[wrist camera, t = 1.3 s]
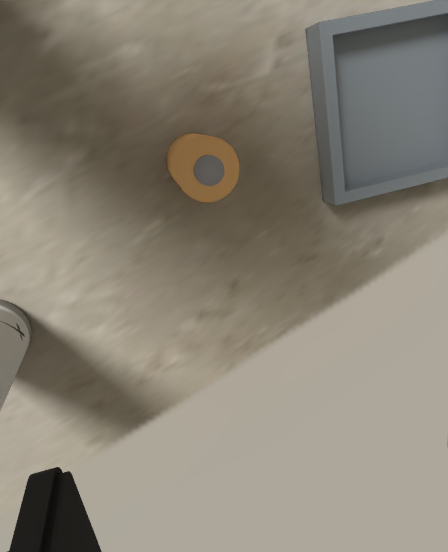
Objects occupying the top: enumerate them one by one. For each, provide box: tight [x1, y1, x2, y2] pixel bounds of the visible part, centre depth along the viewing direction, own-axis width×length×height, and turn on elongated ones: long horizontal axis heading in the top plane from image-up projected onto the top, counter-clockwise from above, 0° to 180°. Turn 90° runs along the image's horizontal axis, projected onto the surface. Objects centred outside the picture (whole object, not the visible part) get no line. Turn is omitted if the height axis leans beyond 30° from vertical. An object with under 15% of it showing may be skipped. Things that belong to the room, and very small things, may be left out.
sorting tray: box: [306, 0, 448, 206], centre depth 36 cm, size 14×14×2 cm
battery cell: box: [167, 133, 240, 202], centre depth 32 cm, size 4×4×8 cm
